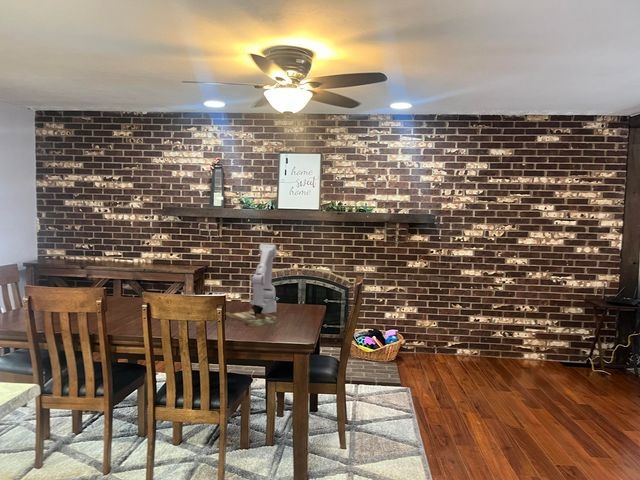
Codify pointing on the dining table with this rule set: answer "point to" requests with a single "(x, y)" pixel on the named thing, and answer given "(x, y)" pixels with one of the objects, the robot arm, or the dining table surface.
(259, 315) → the walnut block
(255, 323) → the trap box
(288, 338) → the dining table surface
